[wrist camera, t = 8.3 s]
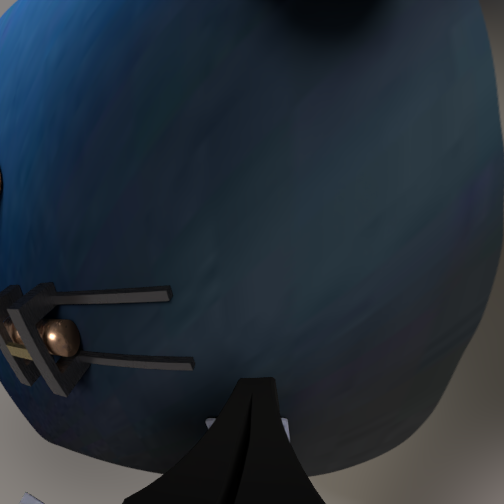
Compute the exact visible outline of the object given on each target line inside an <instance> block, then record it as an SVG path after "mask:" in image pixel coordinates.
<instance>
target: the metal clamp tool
mask: <svg viewBox="0 0 504 504" xmlns="http://www.w3.org/2000/svg"><path fill="white" fill-rule="evenodd" d="M172 296H173V294H172V290H171V287H170V285H169V286H155V287H141V288H125V289H109V290H91V291H71V292H56V289H55V287H54V284H53V282H49V283H40V284H38V285H37V286H36V287H34V288H33V289H32V290H30V291H29V292H28V293H26V294H25V295H24V296H23V294H22V291H21V289H20V286H19V285H10V286H8V287H7V288H5V289H4V290H3V291H1V292H0V349H1V350H2V352H3V354H4V356H5V357H6V359H7V361H8V363H9V364H10V366H11V368H12V369H13V371H14V372H15V374H16V376H17V377H18V379H19V380H20V382H21V383H23V384H25V385H28V386H32V385H33V383H34V382H35V381H36V380H37V379H38V377H39V376H40V375H42V376H43V378H44V379H45V381H46V382H47V384H48V385H49V387H50V389H51V390H52V391H53V393H54V394H58V395H61V396H65V397H68V395H69V394H70V392H71V391H72V390H73V388H74V387H75V385H76V384H77V383H78V381H79V380H80V378H81V377H82V376H83V374H84V373H85V372H86V370H87V369H88V368H89V366H90V363H94V364H102V365H111V366H121V367H133V368H146V369H164V370H193V369H194V366H195V362H194V359H193V357H165V356H140V355H123V354H110V353H98V352H88V351H83V349H78V351H77V352H76V354H75V355H73V356H71V357H65V356H62V357H61V358H60V359H59V360H58V362H57V363H55V362H54V358H53V356H52V354H50V353H49V351H48V349H47V347H46V345H45V343H44V342H43V340H42V338H41V336H40V334H39V332H38V330H37V328H36V326H35V324H36V323H37V322H39V321H40V320H41V319H42V318H43V317H44V316H45V315H46V314H47V313H49V312H50V311H51V310H52V309H53V308H54V307H55V306H56V305H58V304H102V303H133V302H156V301H170V299H171V298H172ZM8 316H10V317H11V320H12V322H13V324H14V326H15V328H16V330H17V332H18V334H19V336H20V338H21V340H22V342H23V343H24V345H23V344H18V343H13V341H12V339H11V337H10V335H9V333H8V331H7V329H6V327H5V325H4V323H3V321H4V320H5V319H6V318H7V317H8Z"/></svg>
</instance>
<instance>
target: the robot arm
mask: <svg viewBox="0 0 504 504" xmlns="http://www.w3.org/2000/svg"><path fill="white" fill-rule="evenodd" d="M206 425H207V427H208V430H207V432H206V433H205V434H204V436H203V437H202V438H201V439H200V441H199V442H198V443H197V444H196V445H195V446H194V447H193V448H192V449H191V450H190V452H189V453H188V454H187V455H186V456H184V457H183V458H182V459H181V460H180V461H179V462H178V463H177V464H176V465H175V466H174V467H172V468H171V469H170V470H169V471H168V472H166V473H165V474H164V475H162V476H161V477H160V478H158V479H157V480H155V481H154V482H153V483H151V484H150V485H148V486H147V487H145V488H143V489H142V490H140V491H138V492H136V493H135V494H133V495H131V496H129V497H127V498H126V499H124V502H123V503H122V504H325V502H324V501H323V499H322V498H321V497H320V495H319V494H318V492H317V491H316V489H315V488H314V486H313V485H312V483H311V481H310V480H309V478H308V476H307V475H306V473H305V471H304V470H303V468H302V466H301V464H300V462H299V460H298V459H297V456H296V454H295V452H294V450H293V448H292V446H291V444H290V435H289V427H288V420H287V419H286V418H281V416H280V413H279V402H278V395H277V389H276V382H275V379H274V378H273V377H264V378H241V379H239V380H238V382H237V384H236V386H235V388H234V390H233V392H232V394H231V396H230V398H229V399H228V401H227V403H226V404H225V406H224V408H223V409H222V411H221V412H220V414H219V415H218V417H217V418H207V419H206ZM19 504H44V503H43V502H41V501H40V500H38V499H37V498H35V497H33V496H32V495H31V494H29V493H27V492H25V494H24V496H23V498H22V499H21V501H20V503H19Z"/></svg>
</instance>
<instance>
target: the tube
mask: <svg viewBox="0 0 504 504" xmlns="http://www.w3.org/2000/svg"><path fill="white" fill-rule="evenodd" d="M4 325H5V327H6V329H7V331H8V333H9V335H10V337H11V339H12V341H13V343H18V344H23V345H24V343H23V342H22V340H21V338H20V336H19V334H18V332H17V330H16V328H15V326H14V324H13V322H12V320H11V317H8V318H7V319H6V320H5V321H4ZM35 326H36V328H37V330H38V332H39V334H40V336H41V338H42V340H43V342H44V343H45V345H46V347H47V349H48V351H49V353H50V354H53V355H59V356H65V357H71V356H73V355H75V354H76V352H77V351H78V348H79V345H80V335H79V331H78V328H77V326H76V325H75V324H74V323H73V322H72V321H70V320H63V319H41V320H40V321H39V322H37V323H36V324H35Z"/></svg>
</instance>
